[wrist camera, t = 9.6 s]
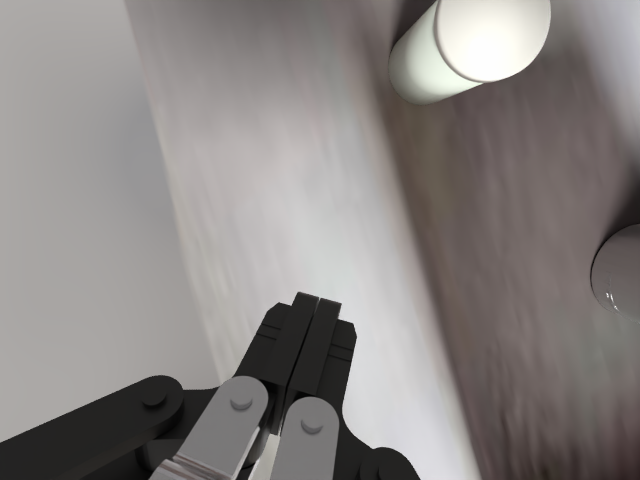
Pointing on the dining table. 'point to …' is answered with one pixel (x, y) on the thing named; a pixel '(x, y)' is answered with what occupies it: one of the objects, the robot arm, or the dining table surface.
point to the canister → (466, 46)
